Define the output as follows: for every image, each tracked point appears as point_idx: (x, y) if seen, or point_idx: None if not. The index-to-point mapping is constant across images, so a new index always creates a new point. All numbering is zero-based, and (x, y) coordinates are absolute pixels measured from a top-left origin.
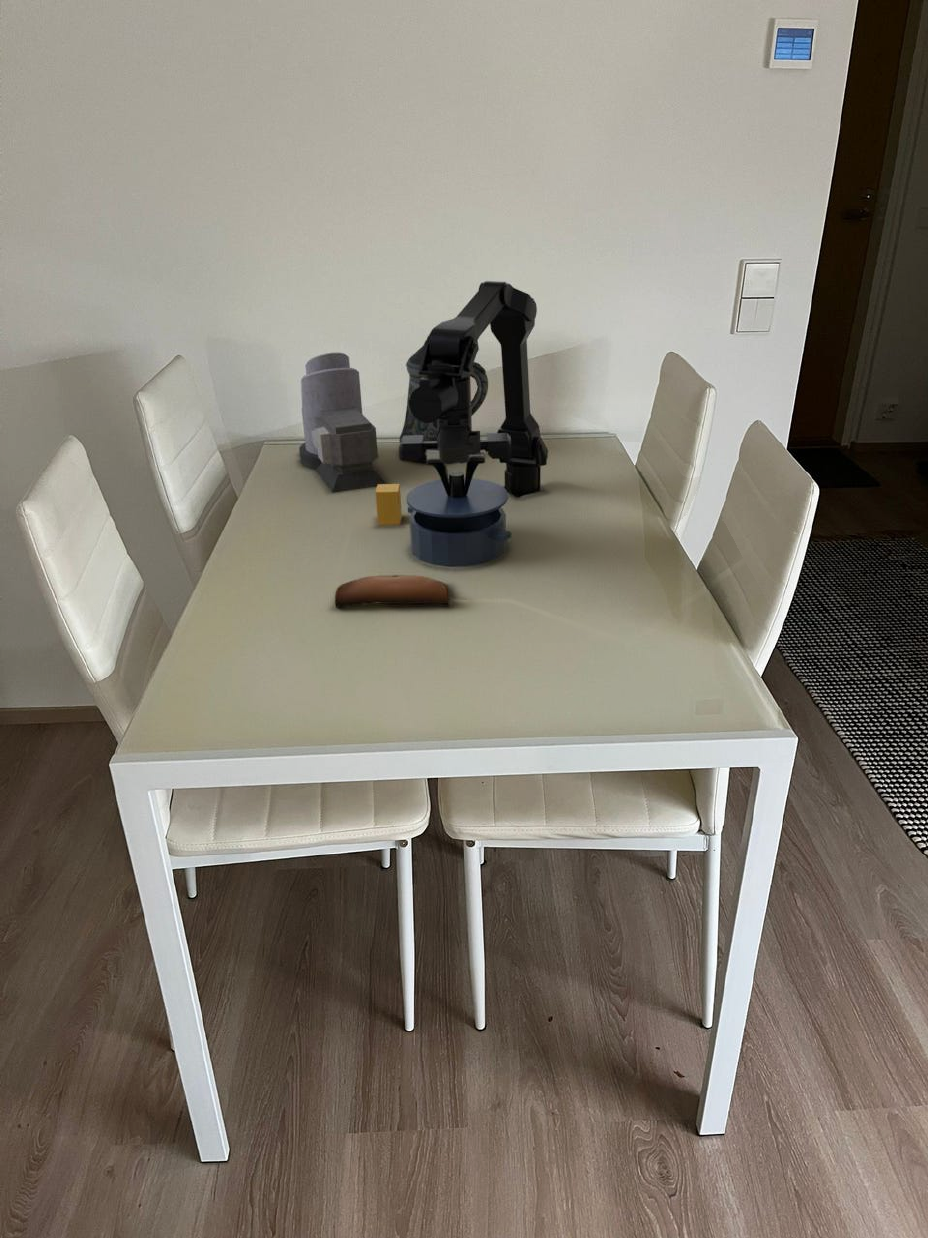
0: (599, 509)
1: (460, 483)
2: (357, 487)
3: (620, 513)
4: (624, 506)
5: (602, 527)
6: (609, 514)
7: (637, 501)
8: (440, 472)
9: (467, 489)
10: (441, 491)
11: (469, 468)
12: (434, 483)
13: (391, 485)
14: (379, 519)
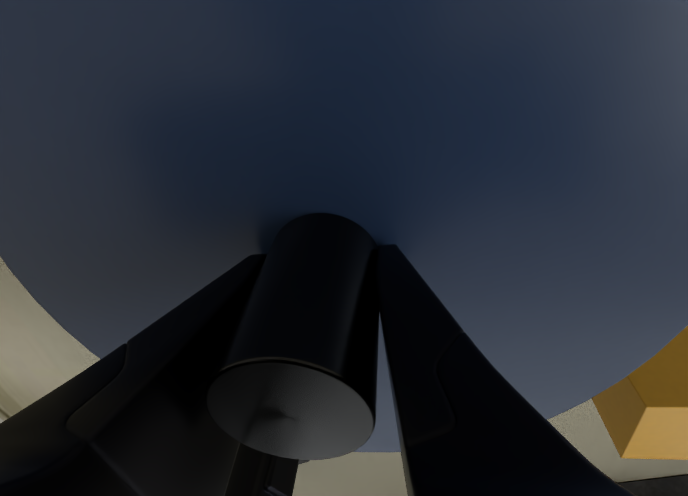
0: (71, 375)
1: (254, 300)
2: (668, 480)
3: (17, 358)
4: (30, 384)
5: (7, 296)
6: (36, 354)
7: (21, 401)
8: (490, 410)
9: (225, 275)
10: None
11: (28, 454)
12: None
13: (661, 449)
14: None
